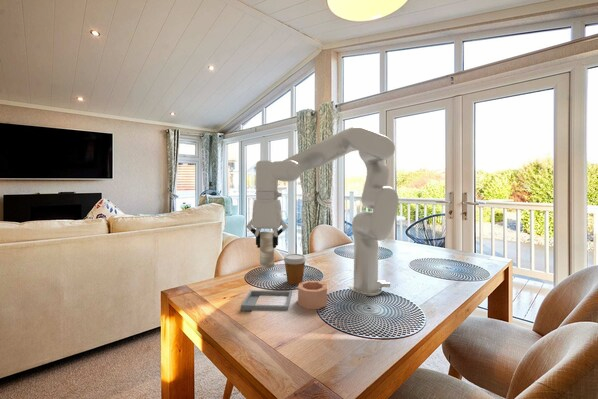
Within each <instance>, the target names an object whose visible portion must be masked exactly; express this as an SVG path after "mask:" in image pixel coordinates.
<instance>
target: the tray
mask: <svg viewBox="0 0 598 399" xmlns="http://www.w3.org/2000/svg"><path fill="white" fill-rule="evenodd" d="M263 295H264V296H266V295H267V296H268V295H269V296H288V297H287V301H286V304H285V305H281V304H257V302H258V300H259V298H260V296H263ZM292 296H293V291H292V290H291V291H290V290H288V291H287V290H286V291H285V290H256V289H254V290H253V289H252V290H249V292H248V293H247V296H246V297H245V298H244V300H243V301H242V303H241V304H240V305H241V306H240V307H241V308H240V309H241V310H240V311H241V312H244V313H251V312H253V310H268V311H270V310H273V311H274V310H275V311H289V308H290V304H291V301H292V300H291V299H292Z"/></svg>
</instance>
